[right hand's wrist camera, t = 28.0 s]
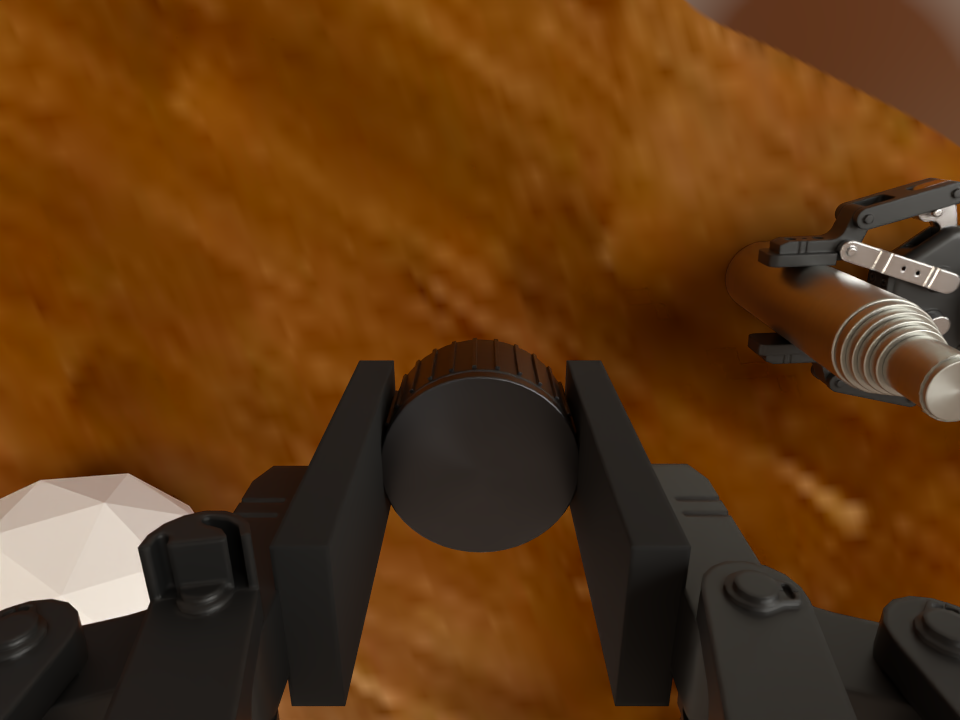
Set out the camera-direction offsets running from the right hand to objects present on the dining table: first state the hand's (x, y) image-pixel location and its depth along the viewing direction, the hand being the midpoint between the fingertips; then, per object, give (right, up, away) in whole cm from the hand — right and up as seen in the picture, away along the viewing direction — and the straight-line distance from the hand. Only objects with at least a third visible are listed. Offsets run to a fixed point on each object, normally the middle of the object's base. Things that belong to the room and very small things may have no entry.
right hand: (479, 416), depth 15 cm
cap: (0, -1, -2) cm, 2 cm away
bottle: (+19, +7, +30) cm, 36 cm away
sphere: (-27, -13, +38) cm, 48 cm away
